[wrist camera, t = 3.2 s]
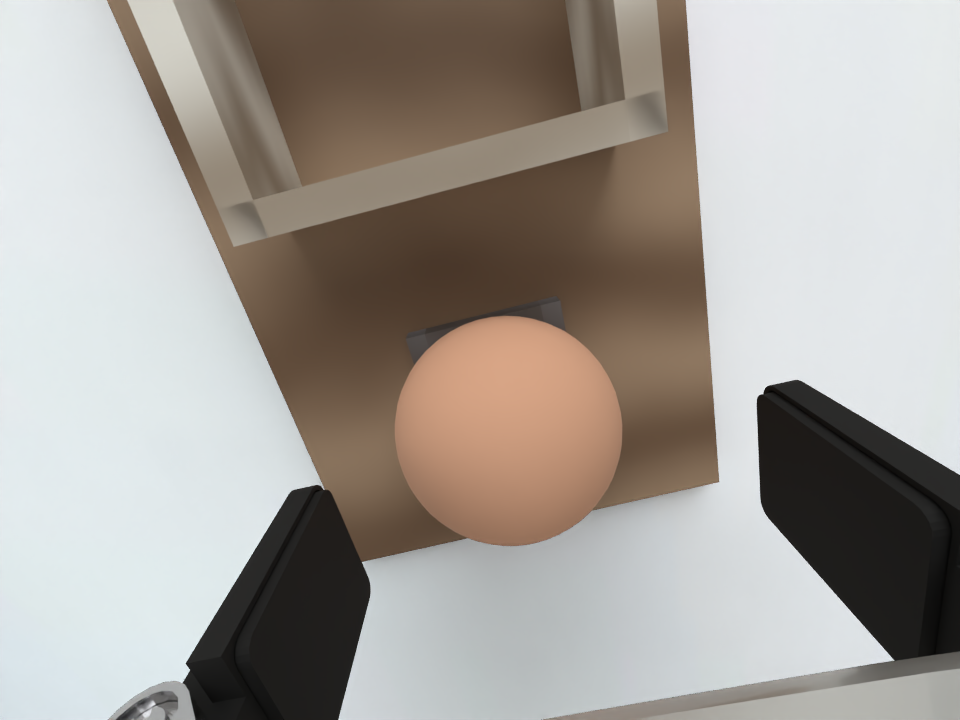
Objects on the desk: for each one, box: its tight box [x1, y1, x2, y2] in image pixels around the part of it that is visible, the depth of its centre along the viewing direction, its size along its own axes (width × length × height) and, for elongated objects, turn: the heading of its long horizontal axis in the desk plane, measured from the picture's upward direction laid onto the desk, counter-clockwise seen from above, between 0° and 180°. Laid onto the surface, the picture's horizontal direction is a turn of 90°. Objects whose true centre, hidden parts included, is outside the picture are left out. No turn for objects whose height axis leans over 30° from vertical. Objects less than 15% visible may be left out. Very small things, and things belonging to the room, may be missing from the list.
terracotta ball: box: [395, 316, 622, 546], centre depth 12 cm, size 6×6×6 cm
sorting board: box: [107, 0, 719, 562], centre depth 11 cm, size 30×14×4 cm, turn 14°
